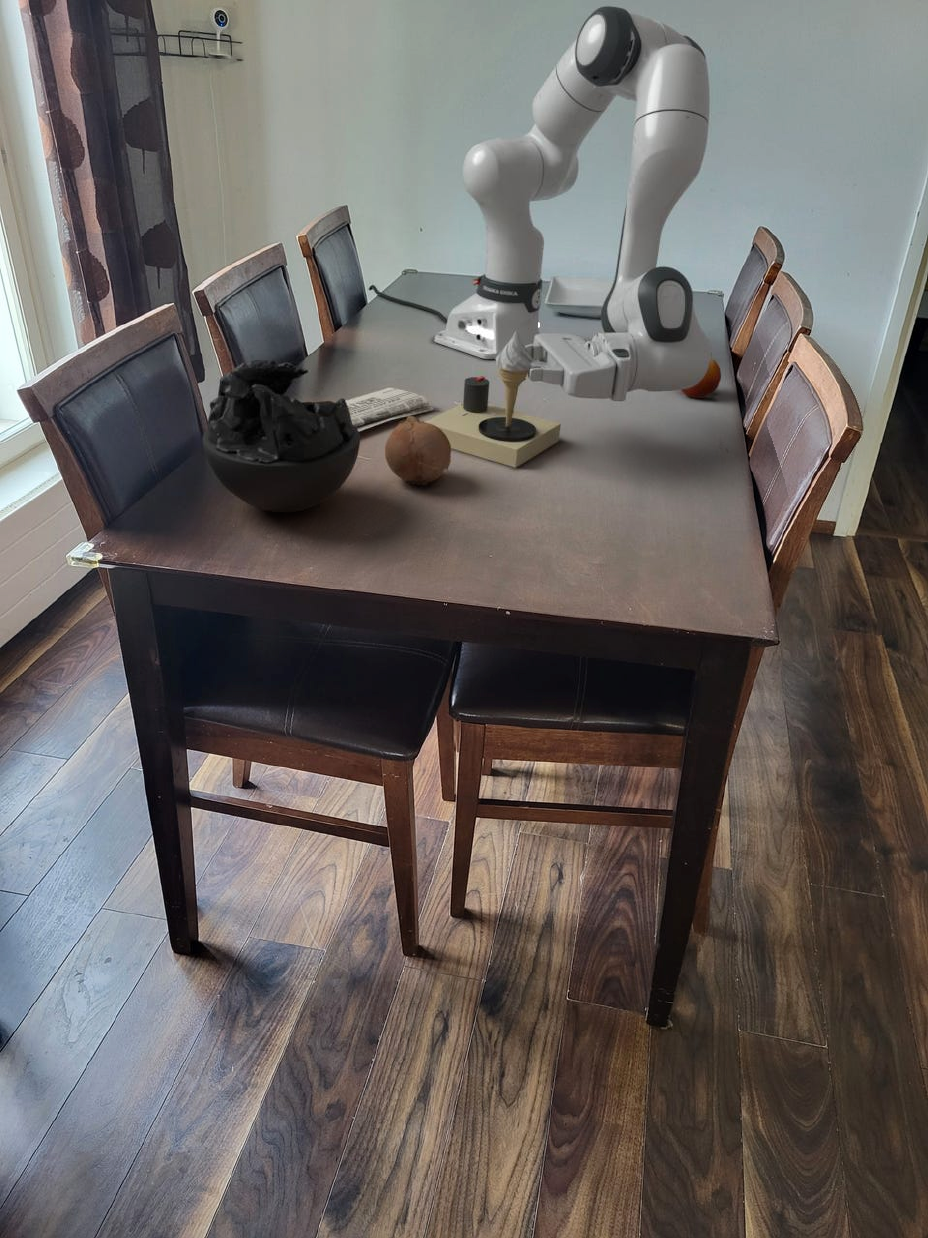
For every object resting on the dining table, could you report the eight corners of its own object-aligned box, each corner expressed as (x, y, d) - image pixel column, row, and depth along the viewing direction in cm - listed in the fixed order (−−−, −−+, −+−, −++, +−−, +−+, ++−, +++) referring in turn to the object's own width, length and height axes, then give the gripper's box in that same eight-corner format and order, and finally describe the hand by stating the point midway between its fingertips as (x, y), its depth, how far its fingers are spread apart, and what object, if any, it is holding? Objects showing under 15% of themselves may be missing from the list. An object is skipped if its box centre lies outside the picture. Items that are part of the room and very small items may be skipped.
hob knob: (479, 414, 149) (481, 384, 147) (458, 408, 151) (460, 379, 148) (491, 408, 152) (494, 378, 150) (471, 402, 154) (473, 373, 151)
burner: (467, 431, 143) (467, 427, 143) (497, 416, 149) (497, 412, 149) (517, 446, 139) (518, 442, 139) (546, 429, 146) (546, 425, 145)
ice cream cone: (488, 419, 146) (495, 323, 138) (523, 420, 147) (532, 324, 138) (492, 433, 141) (500, 334, 133) (528, 434, 142) (538, 335, 134)
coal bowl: (284, 462, 137) (277, 334, 126) (390, 501, 128) (392, 366, 117) (177, 507, 122) (159, 367, 112) (288, 555, 113) (280, 407, 103)
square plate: (549, 289, 237) (551, 273, 235) (657, 299, 235) (660, 283, 233) (542, 316, 214) (544, 299, 212) (661, 327, 212) (664, 310, 210)
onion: (399, 489, 138) (385, 422, 136) (460, 478, 137) (447, 409, 135) (386, 493, 129) (371, 421, 127) (452, 481, 127) (438, 407, 126)
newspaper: (339, 445, 143) (337, 429, 142) (289, 430, 151) (287, 415, 149) (440, 411, 158) (439, 396, 157) (390, 399, 165) (389, 384, 164)
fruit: (729, 397, 169) (714, 357, 166) (687, 414, 172) (671, 375, 169) (727, 383, 175) (713, 344, 172) (687, 400, 179) (672, 362, 175)
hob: (417, 438, 148) (418, 419, 146) (466, 413, 158) (467, 395, 156) (515, 468, 140) (517, 448, 138) (560, 440, 150) (562, 421, 149)
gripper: (588, 322, 149) (505, 323, 146) (634, 362, 132) (541, 363, 129) (583, 361, 152) (501, 362, 149) (627, 405, 135) (537, 407, 132)
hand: (520, 363), depth 139 cm, fingers open, 8 cm apart
